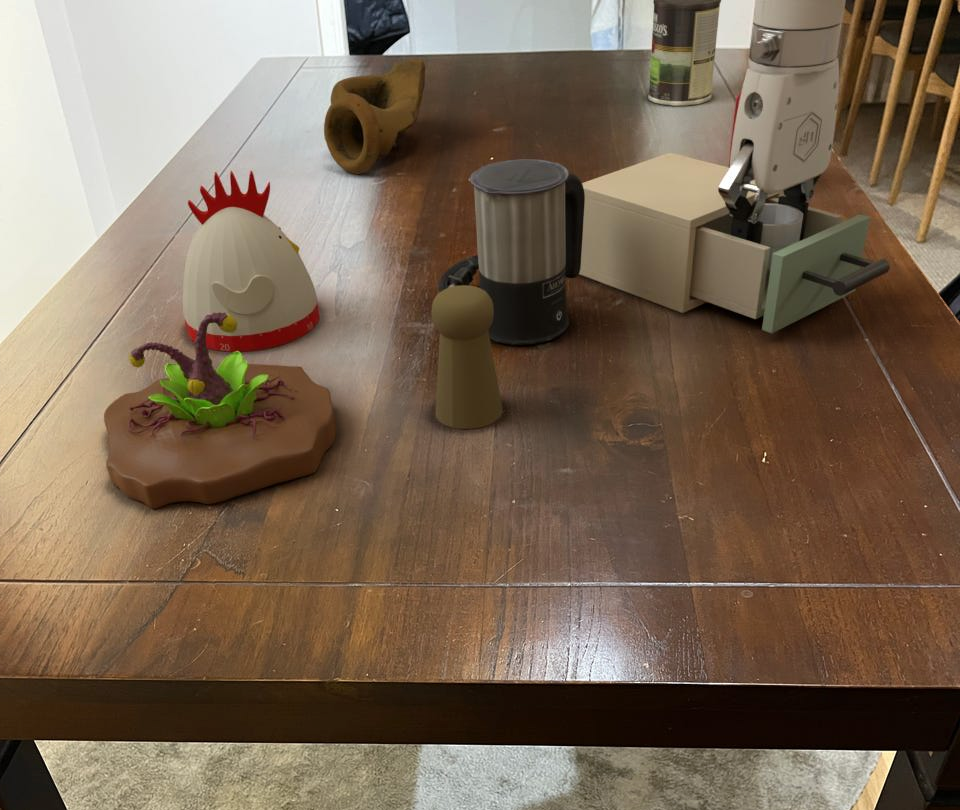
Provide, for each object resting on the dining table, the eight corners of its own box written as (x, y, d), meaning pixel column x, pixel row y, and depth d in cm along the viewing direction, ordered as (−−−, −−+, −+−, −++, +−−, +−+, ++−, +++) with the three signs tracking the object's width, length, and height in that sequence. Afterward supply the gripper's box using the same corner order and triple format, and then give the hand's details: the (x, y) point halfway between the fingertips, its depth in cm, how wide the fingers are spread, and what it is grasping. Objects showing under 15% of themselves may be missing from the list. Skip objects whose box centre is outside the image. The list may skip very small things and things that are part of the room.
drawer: (898, 305, 100) (916, 228, 95) (815, 349, 93) (829, 270, 88) (740, 254, 111) (749, 184, 106) (657, 291, 105) (662, 218, 100)
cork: (469, 389, 93) (462, 271, 86) (516, 410, 90) (513, 289, 82) (421, 413, 90) (409, 293, 83) (468, 436, 87) (460, 313, 79)
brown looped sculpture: (486, 85, 147) (383, 92, 132) (461, 172, 156) (362, 188, 141) (397, 29, 152) (288, 30, 138) (377, 116, 161) (274, 126, 146)
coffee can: (656, 108, 160) (662, 5, 151) (641, 92, 168) (646, -7, 158) (720, 103, 160) (730, 0, 151) (702, 87, 168) (710, -12, 159)
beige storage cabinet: (773, 271, 110) (786, 182, 103) (682, 313, 103) (690, 220, 97) (664, 236, 119) (670, 152, 113) (574, 272, 112) (575, 185, 106)
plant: (357, 476, 83) (337, 348, 75) (113, 525, 79) (67, 395, 72) (316, 371, 97) (297, 255, 90) (109, 408, 94) (71, 290, 86)
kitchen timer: (322, 342, 102) (297, 187, 92) (184, 358, 101) (144, 203, 91) (316, 289, 112) (293, 144, 102) (191, 303, 111) (156, 158, 101)
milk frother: (552, 352, 98) (552, 193, 88) (404, 335, 102) (388, 181, 92) (592, 294, 108) (595, 145, 98) (455, 280, 112) (445, 137, 102)
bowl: (765, 244, 104) (772, 199, 101) (809, 262, 100) (816, 216, 97) (719, 258, 102) (724, 212, 99) (761, 277, 98) (768, 230, 95)
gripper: (766, 71, 82) (739, 286, 94) (888, 33, 90) (849, 236, 102) (695, 58, 87) (678, 265, 99) (817, 23, 95) (788, 218, 107)
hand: (765, 248), depth 100 cm, fingers closed on bowl, 6 cm apart
